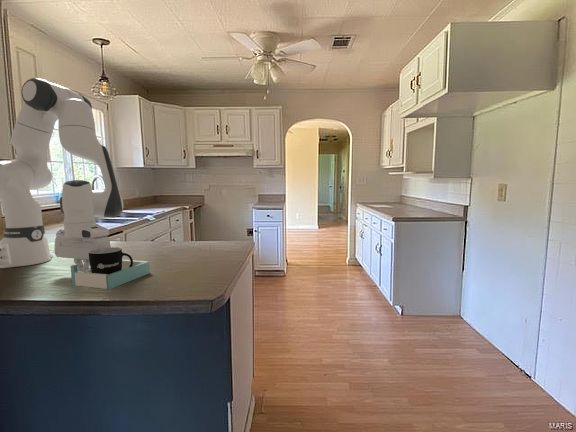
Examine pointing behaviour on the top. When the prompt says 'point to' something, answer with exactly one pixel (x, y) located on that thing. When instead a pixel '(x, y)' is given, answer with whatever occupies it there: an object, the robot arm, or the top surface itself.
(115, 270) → the mug
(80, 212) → the robot arm
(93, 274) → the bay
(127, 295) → the top surface
